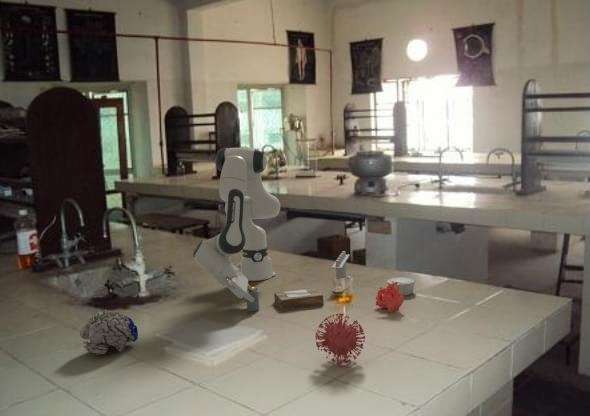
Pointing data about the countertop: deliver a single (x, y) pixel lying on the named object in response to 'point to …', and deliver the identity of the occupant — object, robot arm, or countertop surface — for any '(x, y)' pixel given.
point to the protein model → (389, 297)
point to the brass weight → (252, 289)
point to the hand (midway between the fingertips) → (253, 297)
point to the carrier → (255, 304)
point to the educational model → (108, 332)
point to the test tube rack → (341, 266)
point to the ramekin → (403, 285)
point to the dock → (298, 298)
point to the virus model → (340, 338)
